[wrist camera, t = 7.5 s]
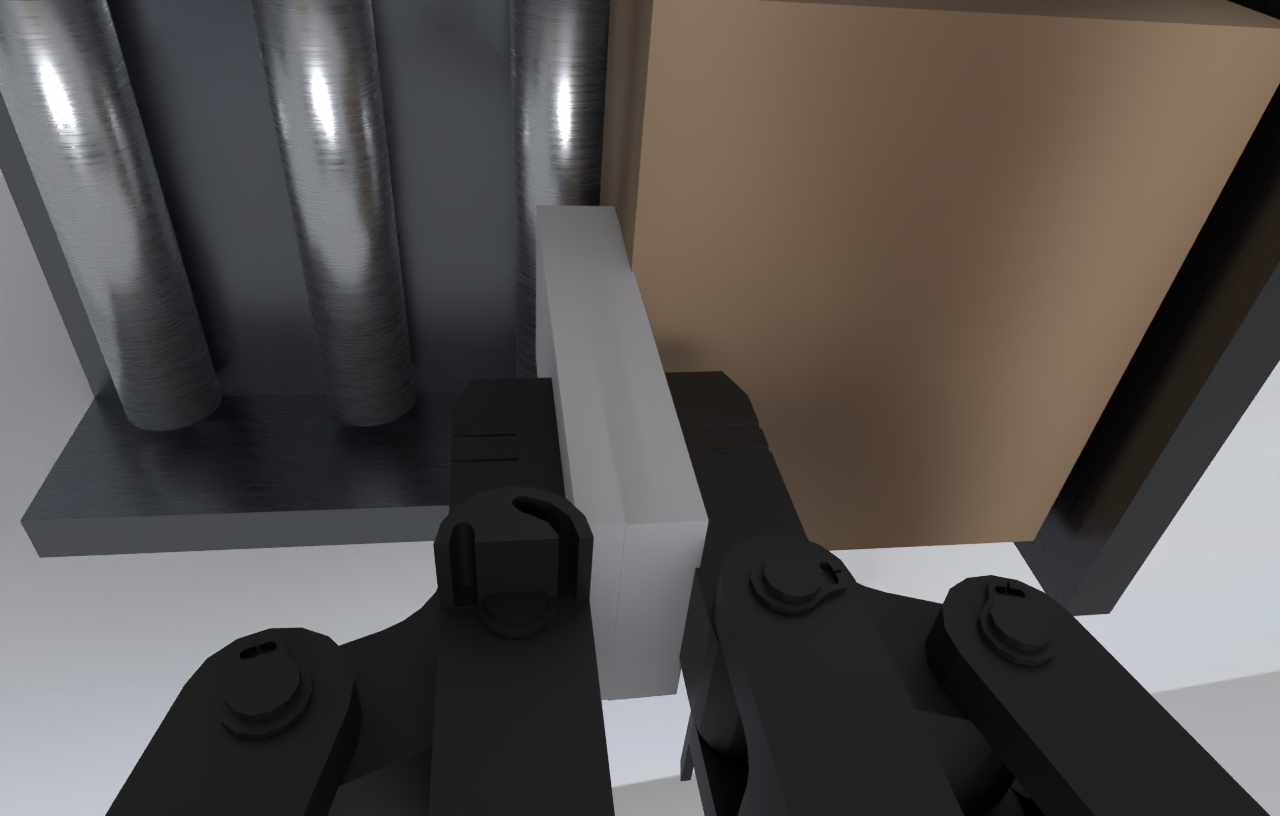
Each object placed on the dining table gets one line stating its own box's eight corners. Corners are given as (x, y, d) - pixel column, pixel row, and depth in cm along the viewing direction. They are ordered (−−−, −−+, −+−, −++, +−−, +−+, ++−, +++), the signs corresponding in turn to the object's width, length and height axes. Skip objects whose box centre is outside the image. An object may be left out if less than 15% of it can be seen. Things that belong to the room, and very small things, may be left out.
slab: (588, 415, 18) (608, 561, 14) (614, -74, 12) (654, -5, 9) (945, 407, 19) (1033, 540, 16) (1118, -40, 13) (1306, 31, 10)
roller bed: (121, 410, 20) (-53, 724, 13) (-168, -330, 11) (-941, -398, 5) (926, 395, 23) (1087, 646, 16) (1143, -201, 14) (1621, -150, 8)
